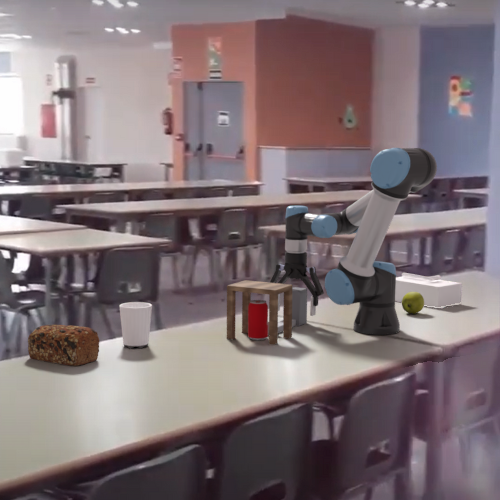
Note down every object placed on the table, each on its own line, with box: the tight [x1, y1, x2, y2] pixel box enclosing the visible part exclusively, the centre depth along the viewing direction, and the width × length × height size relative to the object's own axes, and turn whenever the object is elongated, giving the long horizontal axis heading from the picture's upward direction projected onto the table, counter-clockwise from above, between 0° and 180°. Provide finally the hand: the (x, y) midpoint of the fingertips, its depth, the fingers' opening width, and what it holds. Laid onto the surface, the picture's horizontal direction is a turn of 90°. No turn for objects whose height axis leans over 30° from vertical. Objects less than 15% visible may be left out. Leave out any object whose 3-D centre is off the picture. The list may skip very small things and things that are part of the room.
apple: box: [401, 292, 424, 314], centre depth 334 cm, size 8×9×8 cm
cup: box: [118, 301, 153, 349], centre depth 279 cm, size 10×10×13 cm
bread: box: [27, 324, 101, 367], centre depth 262 cm, size 19×11×10 cm, turn 57°
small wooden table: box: [226, 279, 293, 346], centre depth 291 cm, size 17×12×17 cm
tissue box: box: [395, 272, 463, 307], centre depth 357 cm, size 14×25×11 cm, turn 41°
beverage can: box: [247, 299, 269, 341], centre depth 291 cm, size 6×6×12 cm
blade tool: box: [268, 286, 308, 336], centre depth 307 cm, size 6×23×12 cm, turn 151°
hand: (294, 313), depth 315 cm, fingers open, 13 cm apart
